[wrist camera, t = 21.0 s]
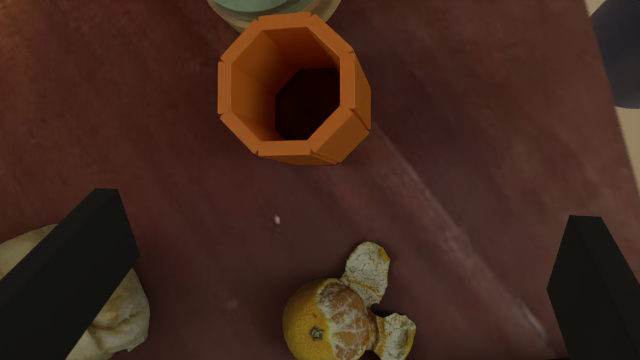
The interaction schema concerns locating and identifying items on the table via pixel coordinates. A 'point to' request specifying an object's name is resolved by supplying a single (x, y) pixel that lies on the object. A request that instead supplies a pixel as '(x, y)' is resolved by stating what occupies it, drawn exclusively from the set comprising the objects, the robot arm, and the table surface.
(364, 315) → the fruit
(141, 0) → the table surface
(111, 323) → the pastry
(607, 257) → the robot arm
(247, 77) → the orange octagonal tube
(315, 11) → the stacking base
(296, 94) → the table surface
